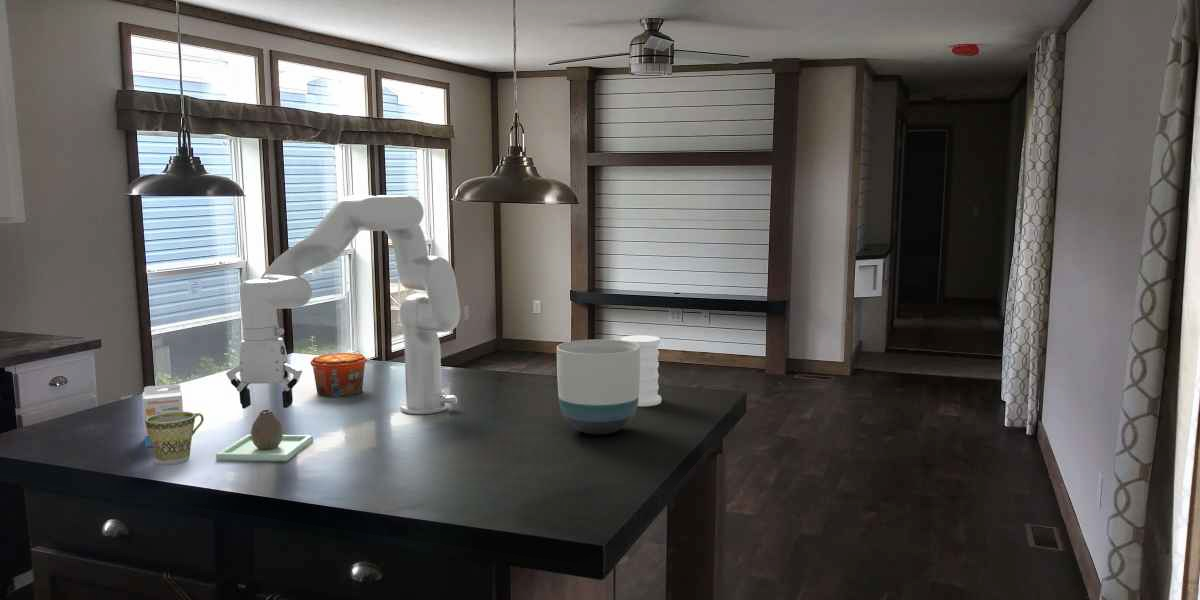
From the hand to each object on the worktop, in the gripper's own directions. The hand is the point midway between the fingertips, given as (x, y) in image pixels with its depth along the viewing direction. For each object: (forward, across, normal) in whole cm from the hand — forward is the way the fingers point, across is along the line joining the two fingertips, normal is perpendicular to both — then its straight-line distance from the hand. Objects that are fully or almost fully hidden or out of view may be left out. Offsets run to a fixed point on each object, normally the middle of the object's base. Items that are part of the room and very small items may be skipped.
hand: (266, 406), depth 209 cm
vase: (+10, 0, +1) cm, 10 cm away
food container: (+12, +4, -58) cm, 59 cm away
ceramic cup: (+10, +18, +8) cm, 22 cm away
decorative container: (+13, -85, -50) cm, 100 cm away
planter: (+12, -75, -18) cm, 79 cm away
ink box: (+10, +29, -6) cm, 31 cm away
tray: (+10, +1, +1) cm, 10 cm away
